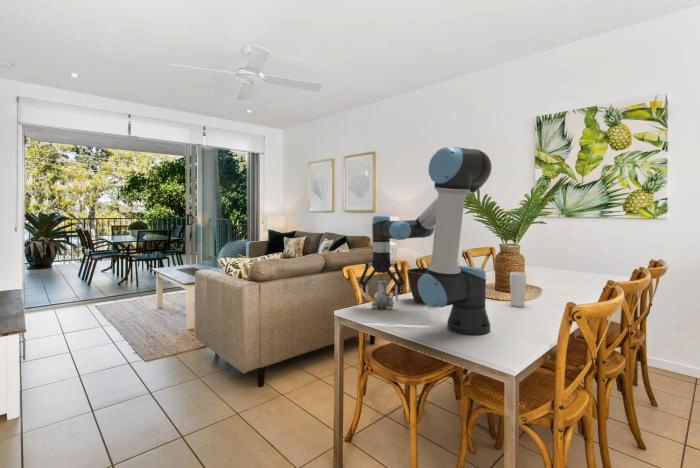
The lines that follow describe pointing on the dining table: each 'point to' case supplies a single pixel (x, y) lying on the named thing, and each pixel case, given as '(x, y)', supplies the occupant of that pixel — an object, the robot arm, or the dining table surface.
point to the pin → (381, 295)
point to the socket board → (388, 302)
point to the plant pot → (415, 282)
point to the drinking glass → (517, 288)
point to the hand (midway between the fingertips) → (381, 300)
